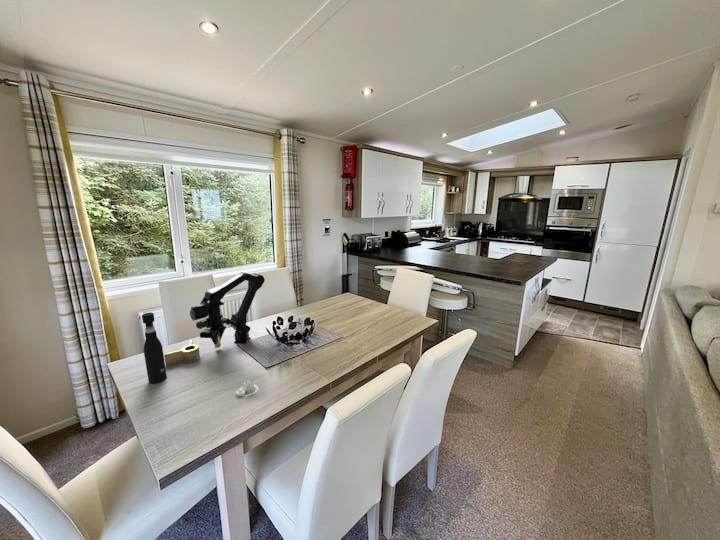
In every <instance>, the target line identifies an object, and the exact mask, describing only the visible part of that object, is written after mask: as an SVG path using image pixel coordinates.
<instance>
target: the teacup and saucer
mask: <svg viewBox="0 0 720 540" xmlns="http://www.w3.org/2000/svg"><path fill="white" fill-rule="evenodd" d="M255 383H256V382H255V381H254V380H251V379H247V380H245V381H244V382H243V386H241V387H240V388H239V389H237V390H236V391H235V396H237V397H250V396H253V395H255V394H257V392H259V389H260V388H259V386H258V385H257V384H255ZM253 387H254V388H255V391H253V392H251V391H252V388H253ZM248 392H251V393H249V394H246V393H248Z"/></svg>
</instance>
